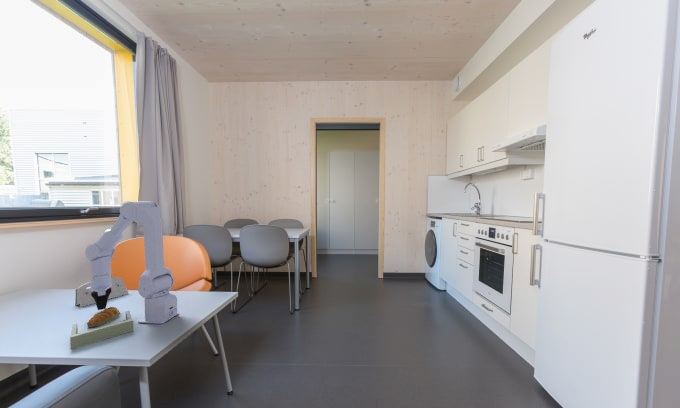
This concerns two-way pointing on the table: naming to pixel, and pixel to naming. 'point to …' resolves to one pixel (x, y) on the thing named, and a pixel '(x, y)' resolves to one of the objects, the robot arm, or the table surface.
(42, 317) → the table surface
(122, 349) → the table surface
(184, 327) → the table surface
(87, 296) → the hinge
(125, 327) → the chute dock
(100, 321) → the pastry
